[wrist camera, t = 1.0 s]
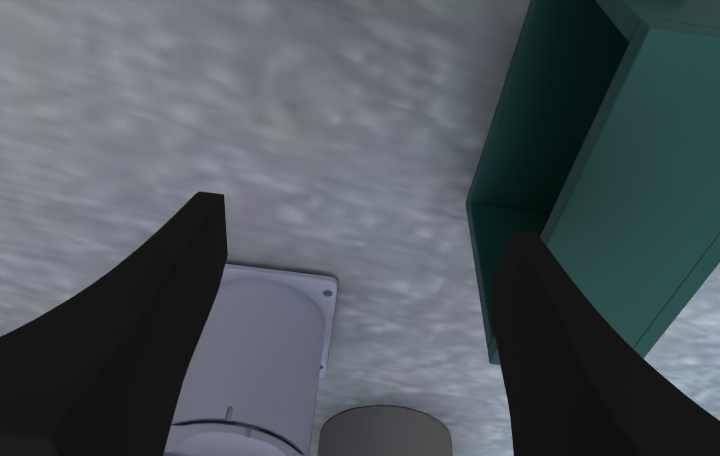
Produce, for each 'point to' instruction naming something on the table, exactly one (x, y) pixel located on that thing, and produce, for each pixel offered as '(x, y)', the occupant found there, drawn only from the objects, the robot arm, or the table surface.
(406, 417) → the coffee mug
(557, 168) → the teal open crate
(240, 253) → the table surface
